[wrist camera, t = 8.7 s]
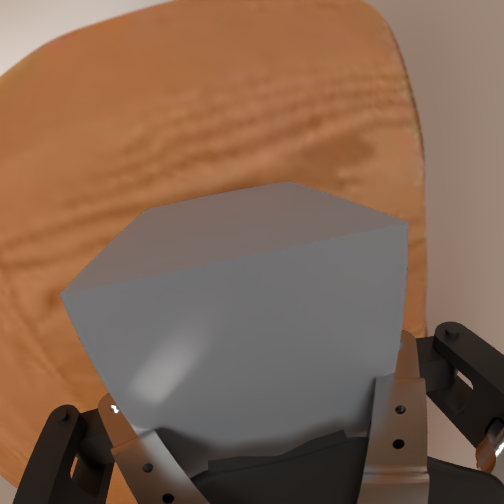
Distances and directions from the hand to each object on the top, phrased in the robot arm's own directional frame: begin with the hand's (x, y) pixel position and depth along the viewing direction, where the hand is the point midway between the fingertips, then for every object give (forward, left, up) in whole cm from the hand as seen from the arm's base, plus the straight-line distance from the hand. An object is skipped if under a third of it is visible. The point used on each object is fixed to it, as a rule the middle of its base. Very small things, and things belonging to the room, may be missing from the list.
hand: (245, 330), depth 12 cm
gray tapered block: (0, 0, -3) cm, 3 cm away
